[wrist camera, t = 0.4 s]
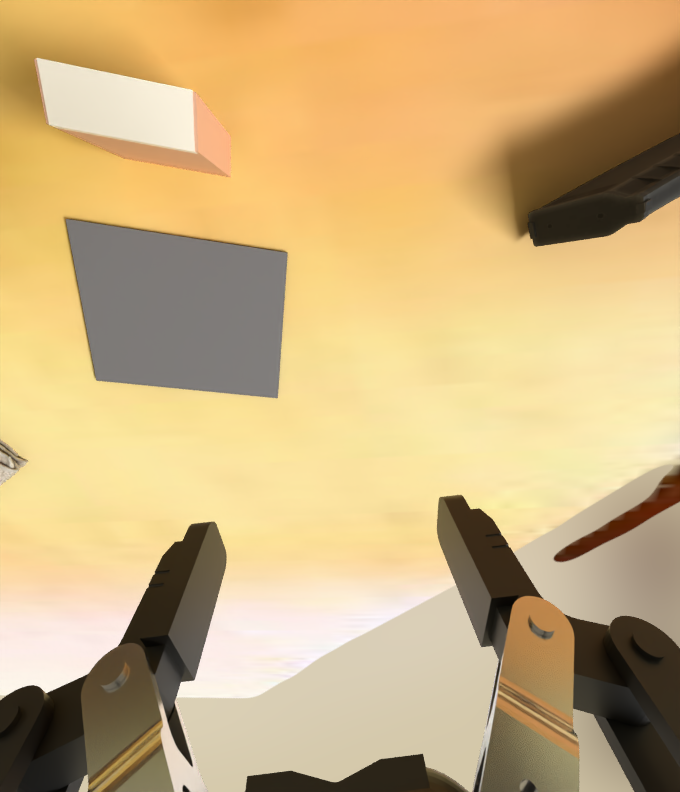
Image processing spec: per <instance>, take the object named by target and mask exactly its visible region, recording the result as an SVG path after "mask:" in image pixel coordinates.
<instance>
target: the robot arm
mask: <svg viewBox="0 0 680 792" xmlns="http://www.w3.org/2000/svg"><path fill="white" fill-rule="evenodd" d="M437 534H438V539H439V542H440V545H441V548H442V550H443V553H444V555H445V558H446V560H447V563H448V565H449V568H450V570H451V573H452V575H453V578H454V580H455V583H456V585H457V588H458V590H459V593H460V595H461V598H462V600H463V603H464V605H465V608H466V610H467V613H468V615H469V618H470V620H471V623H472V625H473V627H474V630H475V633H476V635H477V638H478V640H479V643H480V645H481V647H486V646H493V647H494V650H495V652H496V654H497V656H498V659H499V660H498V664H497V669H496V675H495V680H494V685H493V690H492V696H491V701H490V706H489V711H488V717H487V722H486V727H485V732H484V737H483V742H482V746H481V751H480V756H479V760H478V765H477V770H476V775H475V781H474V786H473V791H472V792H579V743H578V737H577V735H576V733H574V730H573V709H577V710H580V711H584V712H587V713H591V714H594V716H595V718H596V720H597V722H598V724H599V726H600V728H601V729H602V732H603V733H604V735H605V737H606V739H607V741H608V743H609V745H610V746H611V749H612V750H613V752H614V754H615V756H616V758H617V759H618V762H619V764H620V765H621V767H622V769H623V771H624V773H625V775H626V777H627V779H628V780H629V782H630V784H631V786H632V788H633V790H634V792H680V648H679V647H678V646H677V645H676V644H675V643H674V641H672V639H671V638H669V637H668V636H667V635H666V634H665V633H664V632H662V631H661V630H660V629H658V628H657V627H655V626H654V625H652V624H650V623H648V622H646V621H644V620H642V619H639V618H635V617H631V616H620V617H617V618H615V619H614V620H613V621H612V623H611V624H610V626H607V625H603V624H598V623H593V622H589V621H584V620H580V619H576V618H572V617H570V616H567V615H565V614H563V613H562V612H561V611H560V610H559V609H558V608H557V607H555V606H554V605H553V604H551V603H550V602H548V601H546V600H544V599H543V598H542V597H541V596H540V594H539V593H538V591H537V590H536V588H535V587H534V585H533V583H532V582H531V580H530V579H529V577H528V575H527V574H526V572H525V571H524V569H523V568H522V566H521V564H520V563H519V561H518V559H517V558H516V556H515V555H514V553H513V551H512V550H511V548H509V546H508V543H507V542H506V540H505V538H504V537H503V536H502V535H501V532H500V530H499V529H498V527H497V526H496V524H495V522H494V521H493V519H491V518H490V517H489V516H488V515H487V514H485V513H484V512H483V511H482V510H481V509H470V508H469V506H468V504H467V502H466V500H465V499H464V497H463V496H462V495H455V496H446V497H440V498H439V505H438V519H437ZM225 568H226V550H225V547H224V544H223V542H222V539H221V536H220V533H219V530H218V528H217V525H216V523H215V522H206V523H197V524H191V525H190V526H189V528H188V530H187V532H186V535H185V537H184V539H183V541H179V542H175V543H174V544H173V545H172V546H171V547H170V548H169V549H168V551H167V552H166V553H165V554H164V555H163V556H162V558H161V560H160V562H159V565H158V567H157V569H156V571H155V575H153V577H152V579H151V581H150V583H149V587H148V588H147V589H146V591H145V593H144V595H143V598H142V600H141V602H140V604H139V606H138V608H137V610H136V612H135V614H134V616H133V618H132V620H131V622H130V624H129V626H128V628H127V630H126V633H125V635H124V637H123V639H122V640H121V642H120V644H119V645H118V647H116V648H114V649H113V650H111V651H110V652H108V653H107V654H106V655H104V656H103V657H102V658H101V659H100V660H99V661H98V662H97V663H96V664H95V666H94V667H93V668H92V670H91V671H90V673H89V674H87V675H85V676H83V677H81V678H79V679H77V680H75V681H72V682H70V683H68V684H66V685H64V686H61V687H59V688H57V689H55V690H53V691H50V692H48V693H45V692H44V691H43V690H42V689H41V688H40V687H38V686H34V685H32V686H26V687H22V688H20V689H18V690H16V691H14V692H12V693H10V694H9V695H7V696H6V697H4V698H3V699H2V700H0V792H78V791H79V788H80V786H81V783H82V781H83V778H84V776H85V775H87V774H88V783H89V785H88V792H208V790H207V788H206V786H205V783H204V781H203V779H202V777H201V775H200V772H199V770H198V767H197V764H196V760H195V758H194V754H193V751H192V747H191V744H190V741H189V738H188V735H187V731H186V728H185V725H184V722H183V719H182V715H181V712H180V709H179V706H178V702H177V700H176V696H177V693H178V689H179V686H180V683H181V682H184V681H193V680H195V677H196V673H197V669H198V666H199V662H200V659H201V655H202V651H203V648H204V644H205V641H206V637H207V633H208V630H209V626H210V622H211V619H212V615H213V612H214V608H215V604H216V601H217V597H218V594H219V590H220V586H221V583H222V579H223V576H224V572H225ZM245 792H468V791H467V790H466V789H465V788H464V787H462V786H461V785H460V784H459V783H457V782H456V781H455V780H453V779H451V778H450V777H448V776H447V775H445V774H443V773H441V772H438V771H436V770H434V769H431V768H427V767H425V762H424V757H423V754H419V755H411V756H403V757H395V758H388V759H380V760H378V761H376V762H374V763H373V764H371V765H369V766H367V767H365V768H364V769H362V770H360V771H358V772H356V773H354V774H353V775H351V776H349V777H347V778H345V779H344V780H342V781H339V782H329V781H326V780H322V779H319V778H315V777H311V776H308V775H304V774H300V773H297V772H293V771H286V772H277V773H270V774H262V775H254V776H248V777H247V783H246V791H245Z"/></svg>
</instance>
